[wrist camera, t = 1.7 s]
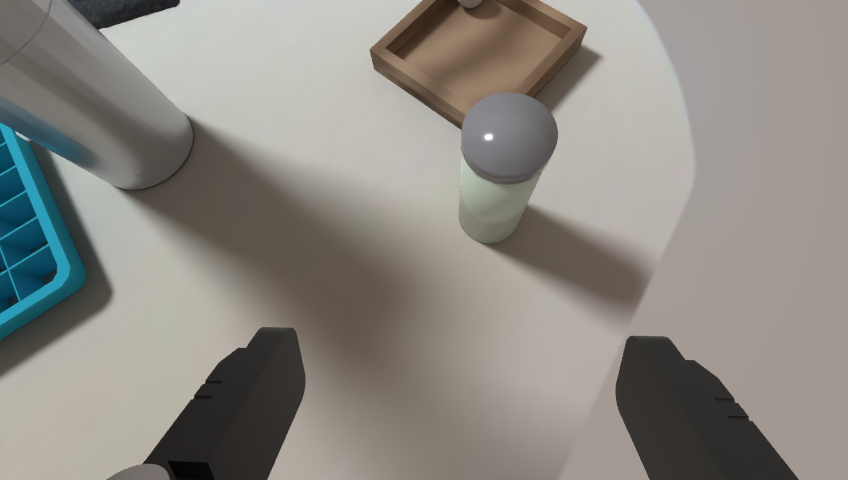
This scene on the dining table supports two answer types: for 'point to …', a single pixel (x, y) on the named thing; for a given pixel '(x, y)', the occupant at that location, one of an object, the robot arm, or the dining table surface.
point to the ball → (469, 3)
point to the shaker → (502, 162)
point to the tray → (475, 51)
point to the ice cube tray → (31, 238)
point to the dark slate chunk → (118, 10)
